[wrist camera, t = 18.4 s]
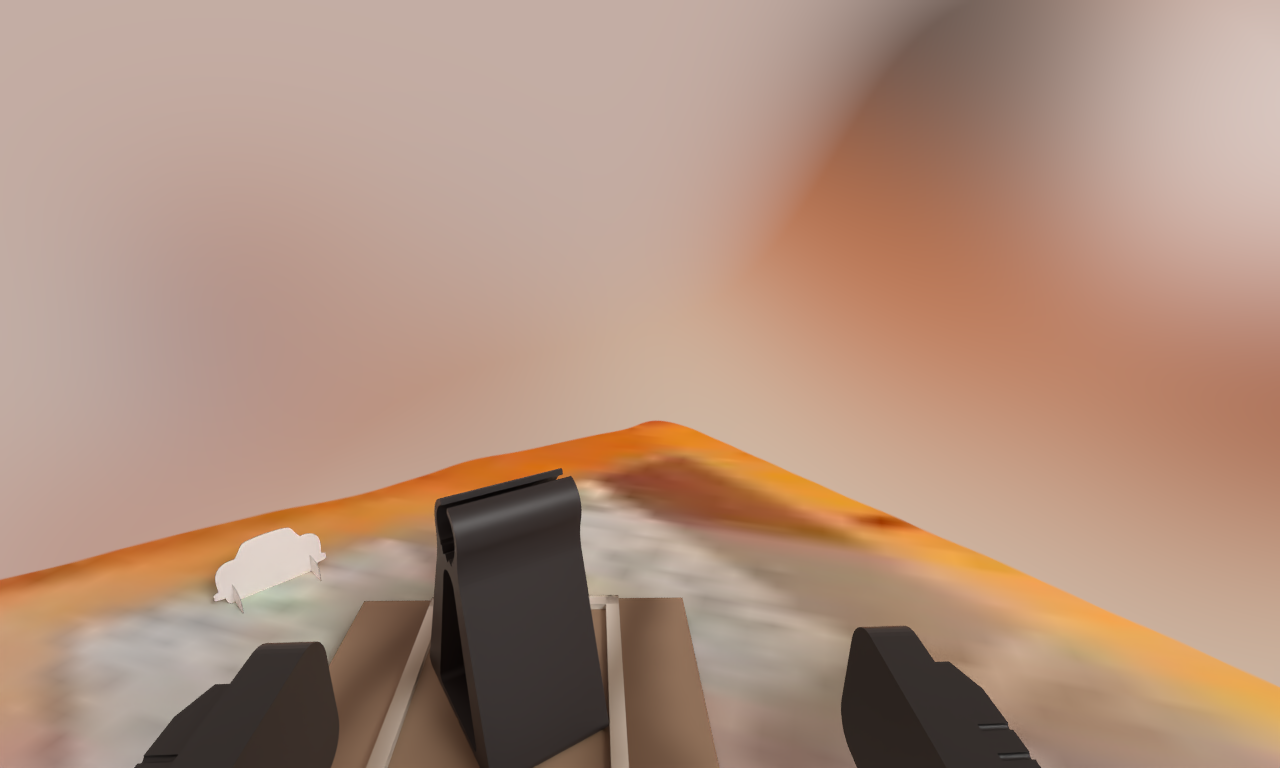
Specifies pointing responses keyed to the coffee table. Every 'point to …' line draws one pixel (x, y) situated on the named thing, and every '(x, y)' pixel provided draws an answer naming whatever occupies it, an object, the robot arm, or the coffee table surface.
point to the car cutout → (267, 564)
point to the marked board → (430, 732)
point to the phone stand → (516, 621)
